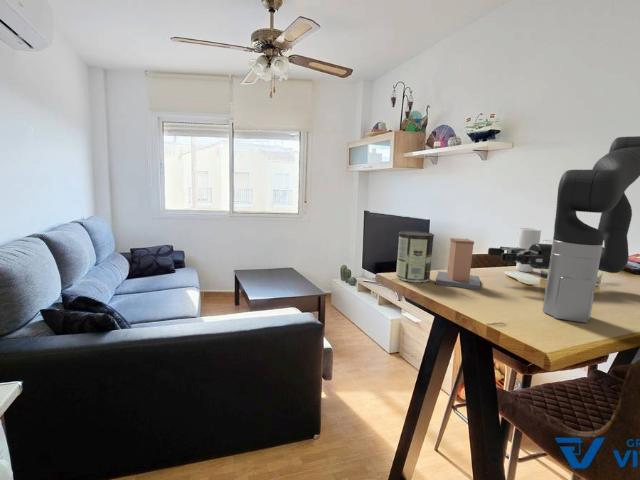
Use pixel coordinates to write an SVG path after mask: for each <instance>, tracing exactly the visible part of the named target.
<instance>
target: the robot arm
mask: <svg viewBox="0 0 640 480" xmlns="http://www.w3.org/2000/svg"><path fill="white" fill-rule="evenodd" d="M639 177H640V136H620V137H616V138H615V139H614V140H613V141H612V143H611V144H610V147H609V151H608V153H606V154H604V155H603V156H602V157H600V158H599V159H598V160H596V163H595V164H594V165H593V167H592V169H567V170H566V171H564V172H563V174H562V175H561V177H560V180H559V182H558V188H557V199H556V209H555V218H554V229H553V239H552V243H551V244H549V243H539V244H533V245H531V247H530V248H529V249H528V250H526V248H518V247H511V246H510V247H508V246H507V247H506V246H500V247H488V250H487V255H489V256H499V257H500V260H501V261H502V262H515V263H516V264H517V263H521V264H529V265H530V266H531V267H532V268H533V270H534V269H535V270H537V269H538V270H548V271H547V277H546V283H545V290H544V299H543V304H542V305H543V306H542V311H543V312H544V313H545V314H547V315H549V316H552V317H554V318H555V319H558V320H559V319H560V320H565V321H571V322H572V321H573V322H579V323H585V324H587V323H588V321H590V320H591V315H592V310H593V304H594V297H595V292H596V285H597V279H598V273H599V271H601V272H606V273H608V274H609V273H610V274H617V273H621V272H622V271H624V269H625V268H626V266H627V265H628V262H629V256H630V255H629V241H628V234H629V231H630V225H631V222H632V221H631V220H632V217H633V210H632V205H631V203H630V201H629V199H628V197H627V195H626V193H625V192H626V191H627V189H628V188H629V187H630V186H631V185H632V184H633V183H635V182H636V181H637V179H639ZM577 212H583V213H597V214H598V213H599V214H600V213H601V215H600V217H599V223H598V225H597V226H598V227H597V228H595V227H593V226H591V225H588V224H586V223H585V222H584V221H582V220H581V219H580V218H579V217H578V216H577ZM603 244H604V246H603ZM505 251H506V252H505Z"/></svg>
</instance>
